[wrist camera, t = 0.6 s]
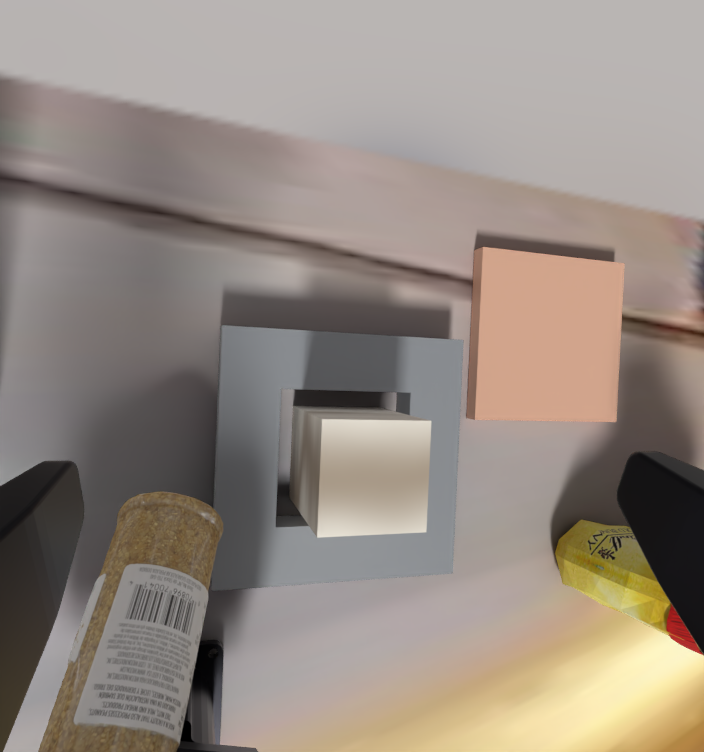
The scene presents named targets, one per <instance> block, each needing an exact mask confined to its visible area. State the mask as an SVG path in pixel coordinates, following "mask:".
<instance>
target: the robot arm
mask: <svg viewBox="0 0 704 752" xmlns="http://www.w3.org/2000/svg"><path fill="white" fill-rule="evenodd" d="M617 501H618V504H619V507H620V509H621V511H622V513H623V515H624V517H625V519H626V521H627V523H628V525H629V526H630V528H631V530H632V532H633V534H634V536H635V538H636V540H637V542H638V544H639V546H640V548H641V550H642V552H643V554H644V556H645V558H646V560H647V562H648V564H649V566H650V568H651V570H652V572H653V574H654V575H655V577H656V579H657V581H658V583H659V585H660V586H661V588H662V590H663V591H664V593H665V595H666V596H667V598H668V599H669V601H670V603H671V604H672V606H673V607H674V609H675V610H676V612H677V614H678V615H679V617H680V618H681V620H682V622H683V623H684V625H685V626H686V628H687V630H688V631H689V633H690V634H691V636H692V638H693V639H694V641H695V642H696V644H697V645H698V647H699V649H700V650H701V652H702V653H703V655H704V470H702V469H699V468H697V467H694V466H692V465H689V464H687V463H685V462H682V461H680V460H677V459H675V458H672V457H670V456H667V455H665V454H663V453H660V452H656V451H642V452H634V453H632V454H631V455H630V456H629V458H628V460H627V463H626V466H625V469H624V471H623V474H622V477H621V480H620V483H619V486H618V489H617ZM83 519H84V502H83V496H82V490H81V485H80V479H79V473H78V468H77V466H76V464H75V463H74V462H72V461H44V462H41V463H39V464H38V465H36V466H34V467H33V468H31V469H29V470H27V471H26V472H24V473H22V474H21V475H19V476H17V477H15V478H14V479H12V480H10V481H9V482H7V483H5V484H3V485H2V486H0V752H3V750H4V748H5V745H6V743H7V740H8V738H9V735H10V733H11V730H12V728H13V725H14V723H15V720H16V718H17V715H18V713H19V710H20V708H21V705H22V703H23V700H24V698H25V695H26V693H27V691H28V688H29V686H30V683H31V681H32V678H33V676H34V673H35V671H36V668H37V666H38V663H39V661H40V658H41V656H42V653H43V651H44V648H45V646H46V643H47V641H48V638H49V636H50V633H51V631H52V628H53V625H54V623H55V620H56V617H57V614H58V611H59V608H60V604H61V601H62V597H63V594H64V590H65V586H66V583H67V579H68V575H69V572H70V568H71V564H72V561H73V557H74V553H75V550H76V546H77V542H78V538H79V535H80V531H81V527H82V524H83ZM213 648H214V649H217V650H218V651H217V652H216V653H215V654H210V653H209V651H210V650H211V649H213ZM222 672H223V646H222V644H221V642H219V641H218V640H207V641H200V643H199V648H198V653H197V658H196V663H195V668H194V674H193V679H192V684H191V689H190V694H189V699H188V704H187V709H186V715H185V720H184V725H183V730H182V735H181V739H180V744H179V747H178V749H177V751H176V752H258V751H257V750H256V748H248V747H237V746H227V745H220V722H221V697H222Z"/></svg>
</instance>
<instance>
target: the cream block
mask: <svg viewBox="0 0 704 752" xmlns="http://www.w3.org/2000/svg"><path fill="white" fill-rule="evenodd" d="M430 442H431V421H430V420H426V419H423V418H419V417H415V416H411V415H407V414H403V413H399V412H395V411H391V410H387V409H383V408H373V407H325V406H293V418H292V442H291V466H290V490H289V498H290V499H291V501H292V502H293V504H294V505H295V506H296V508H297V509H298V511H299V512H300V514H301V515H302V517H303V518H304V519H305V521H306V522H307V524H308V525H309V527H310V528H311V530H312V531H313V532H314V534H315V535H316V537H317V538H321V537H341V536H361V535H382V534H402V533H423V532H426V530H427V508H428V486H429V464H430Z"/></svg>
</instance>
